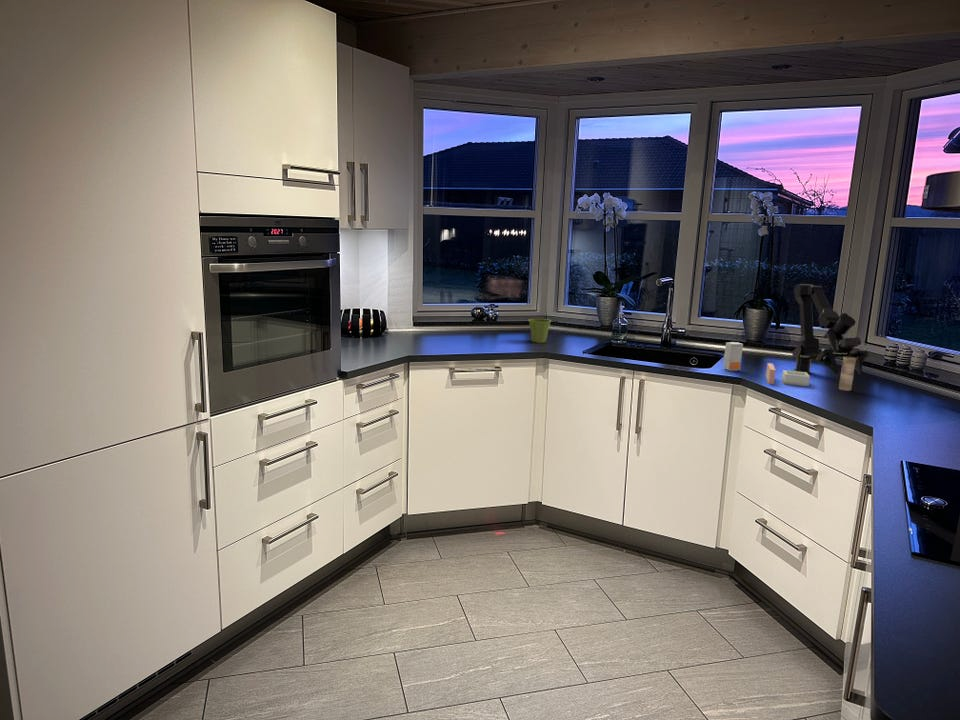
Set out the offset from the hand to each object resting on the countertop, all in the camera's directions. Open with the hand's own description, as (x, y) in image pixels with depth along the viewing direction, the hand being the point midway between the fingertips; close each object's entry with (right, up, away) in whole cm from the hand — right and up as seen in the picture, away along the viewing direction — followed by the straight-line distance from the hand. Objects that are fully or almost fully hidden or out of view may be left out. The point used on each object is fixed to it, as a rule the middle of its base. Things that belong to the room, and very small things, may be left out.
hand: (849, 373), depth 265 cm
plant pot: (-115, +15, +82) cm, 142 cm away
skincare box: (-34, +1, +32) cm, 47 cm away
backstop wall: (-26, -3, +13) cm, 29 cm away
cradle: (-17, -4, +10) cm, 20 cm away
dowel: (0, -6, +3) cm, 7 cm away
